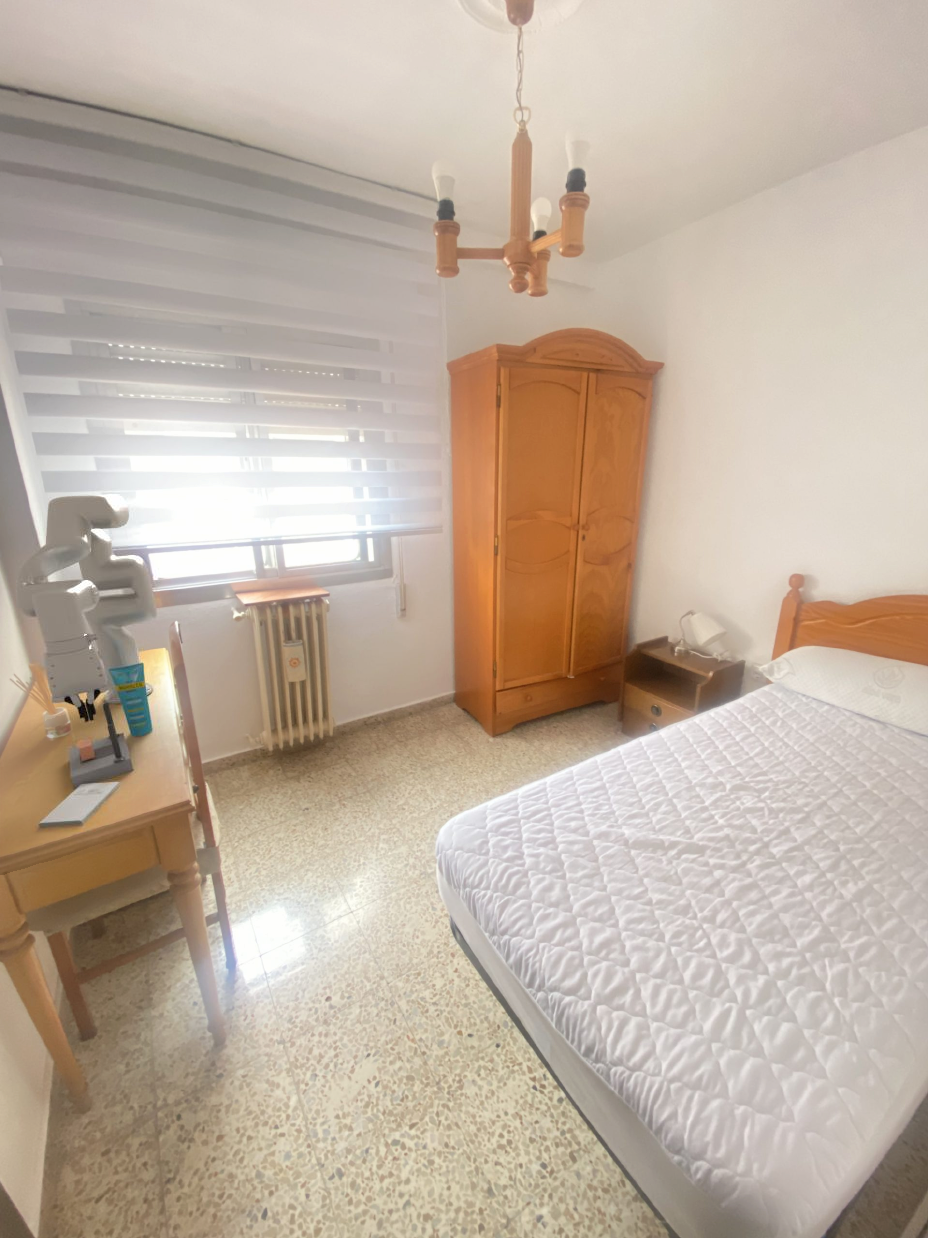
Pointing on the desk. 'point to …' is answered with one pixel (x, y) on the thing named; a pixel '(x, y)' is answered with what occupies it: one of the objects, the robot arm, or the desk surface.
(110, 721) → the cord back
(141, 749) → the desk surface
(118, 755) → the cord front
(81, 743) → the block
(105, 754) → the grey switch base
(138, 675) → the tube
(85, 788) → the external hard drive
